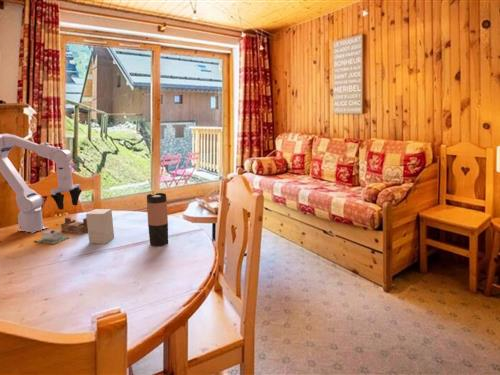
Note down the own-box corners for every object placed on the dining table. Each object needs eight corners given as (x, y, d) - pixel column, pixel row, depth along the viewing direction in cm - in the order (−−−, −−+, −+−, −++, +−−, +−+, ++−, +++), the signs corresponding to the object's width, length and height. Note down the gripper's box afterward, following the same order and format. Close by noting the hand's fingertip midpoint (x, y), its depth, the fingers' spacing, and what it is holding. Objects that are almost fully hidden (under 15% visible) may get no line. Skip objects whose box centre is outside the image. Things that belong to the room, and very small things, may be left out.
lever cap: (42, 240, 141) (40, 231, 140) (51, 236, 145) (50, 228, 145) (53, 241, 139) (52, 233, 139) (62, 238, 143) (61, 229, 143)
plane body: (61, 230, 154) (60, 217, 153) (70, 227, 159) (69, 214, 157) (85, 233, 150) (83, 220, 149) (93, 230, 155) (92, 217, 153)
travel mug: (163, 247, 135) (161, 197, 131) (145, 245, 136) (142, 196, 132) (171, 240, 142) (169, 193, 138) (154, 239, 143) (152, 192, 139)
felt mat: (34, 241, 140) (34, 240, 140) (51, 235, 148) (51, 234, 148) (53, 244, 137) (53, 243, 137) (69, 238, 145) (69, 237, 144)
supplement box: (114, 237, 145) (112, 208, 142) (105, 244, 138) (103, 214, 135) (98, 237, 146) (95, 208, 143) (88, 243, 139) (85, 213, 136)
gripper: (57, 180, 142) (61, 212, 145) (84, 175, 156) (87, 203, 159) (45, 179, 145) (48, 210, 148) (72, 174, 158) (75, 202, 161)
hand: (68, 207), depth 153 cm, fingers open, 7 cm apart
